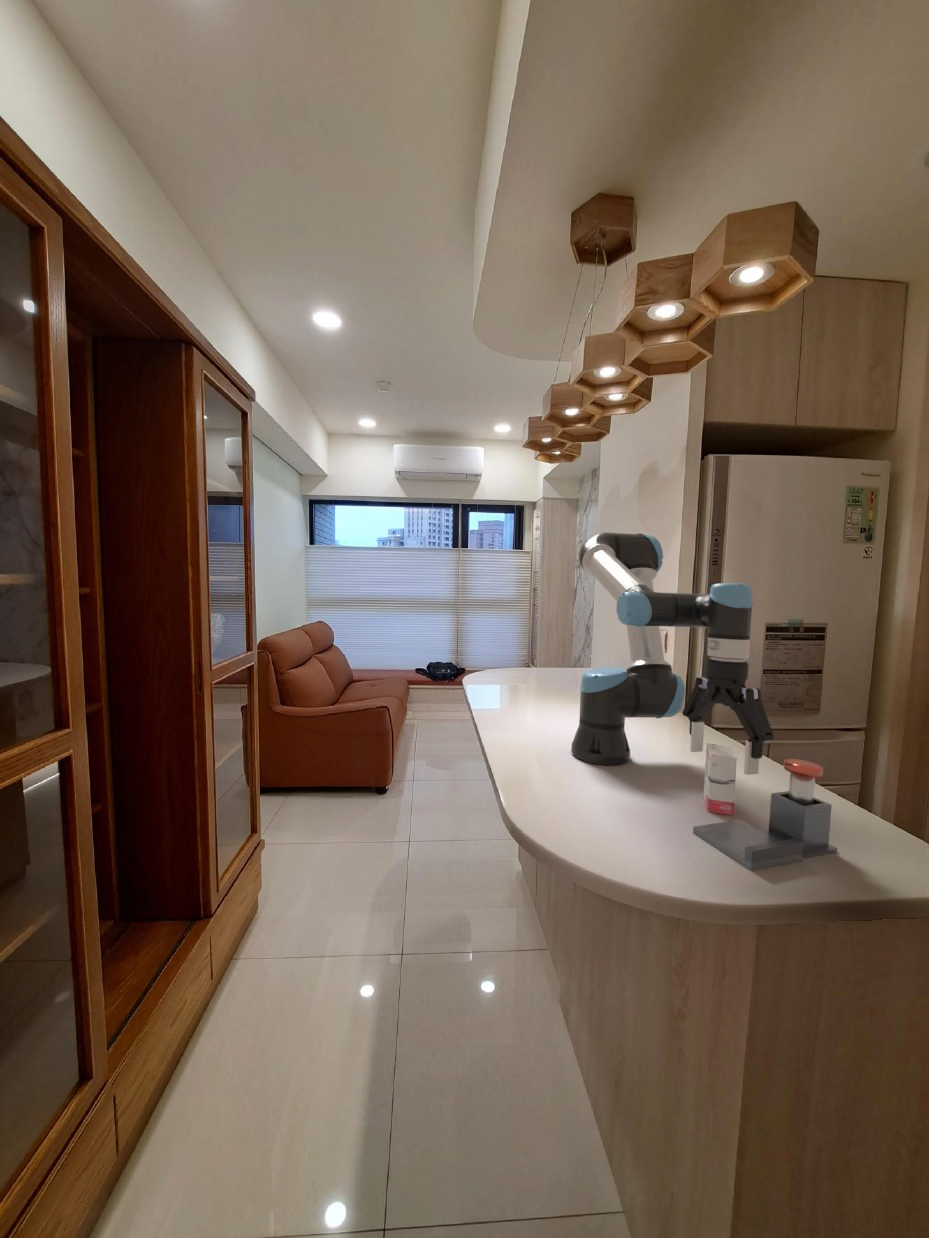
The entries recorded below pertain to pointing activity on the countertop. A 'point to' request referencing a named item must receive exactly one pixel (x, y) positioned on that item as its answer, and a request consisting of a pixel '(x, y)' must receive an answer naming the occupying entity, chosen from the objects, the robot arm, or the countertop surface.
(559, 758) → the countertop surface
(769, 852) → the tray
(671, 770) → the countertop surface
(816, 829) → the housing
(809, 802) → the plunger
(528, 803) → the countertop surface
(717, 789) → the ink box
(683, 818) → the countertop surface
